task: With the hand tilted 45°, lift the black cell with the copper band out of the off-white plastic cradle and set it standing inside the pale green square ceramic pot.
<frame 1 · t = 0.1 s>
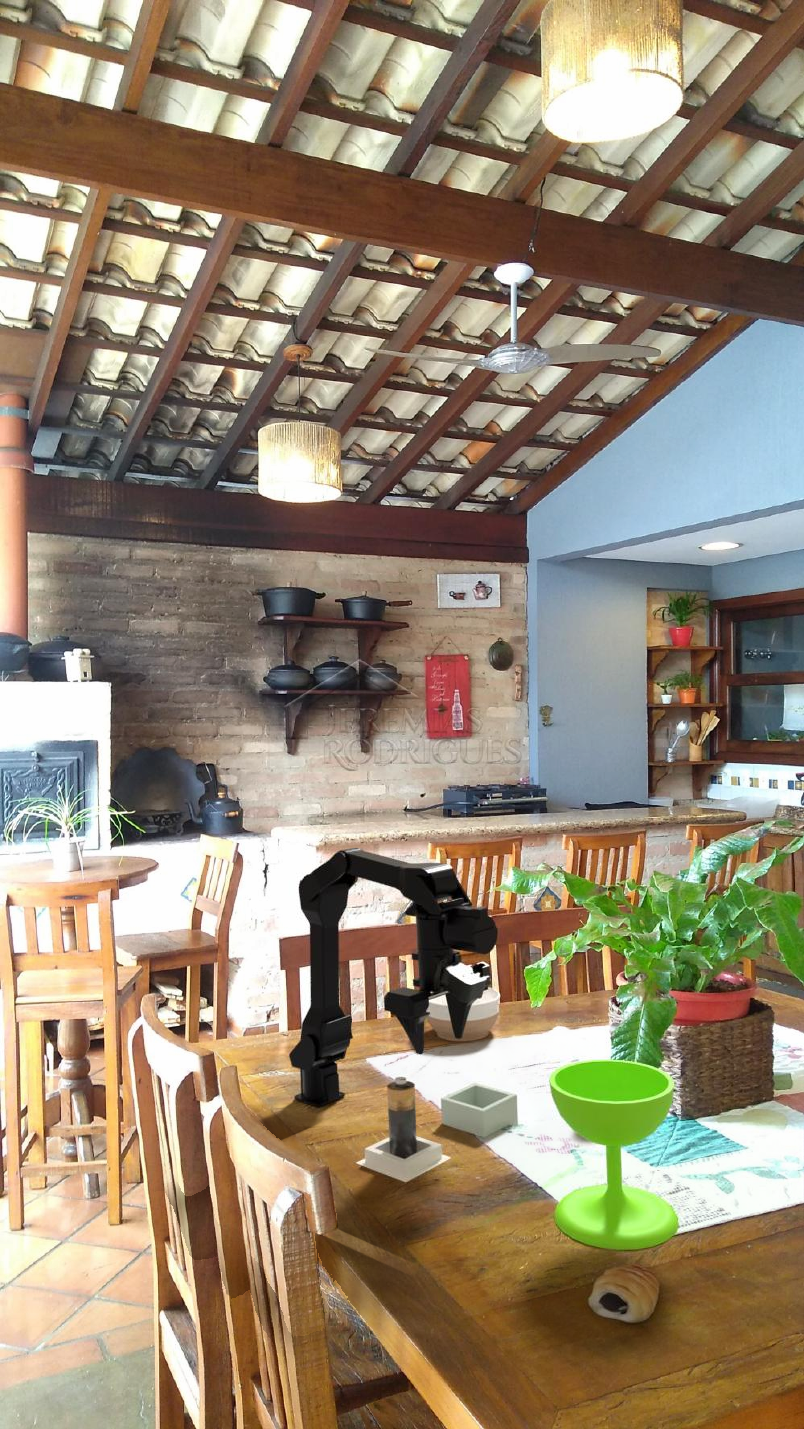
hand: (439, 1046, 162), 15 cm above the table, tool pointing down, fingers open, 9 cm apart
wineglass: (615, 1219, 136), on the table
cell: (403, 1160, 153), point 1 cm above the table, touching cradle
pastry: (626, 1306, 116), on the table
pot: (480, 1127, 166), on the table
bowl: (462, 1034, 215), on the table
cradle: (403, 1167, 153), on the table
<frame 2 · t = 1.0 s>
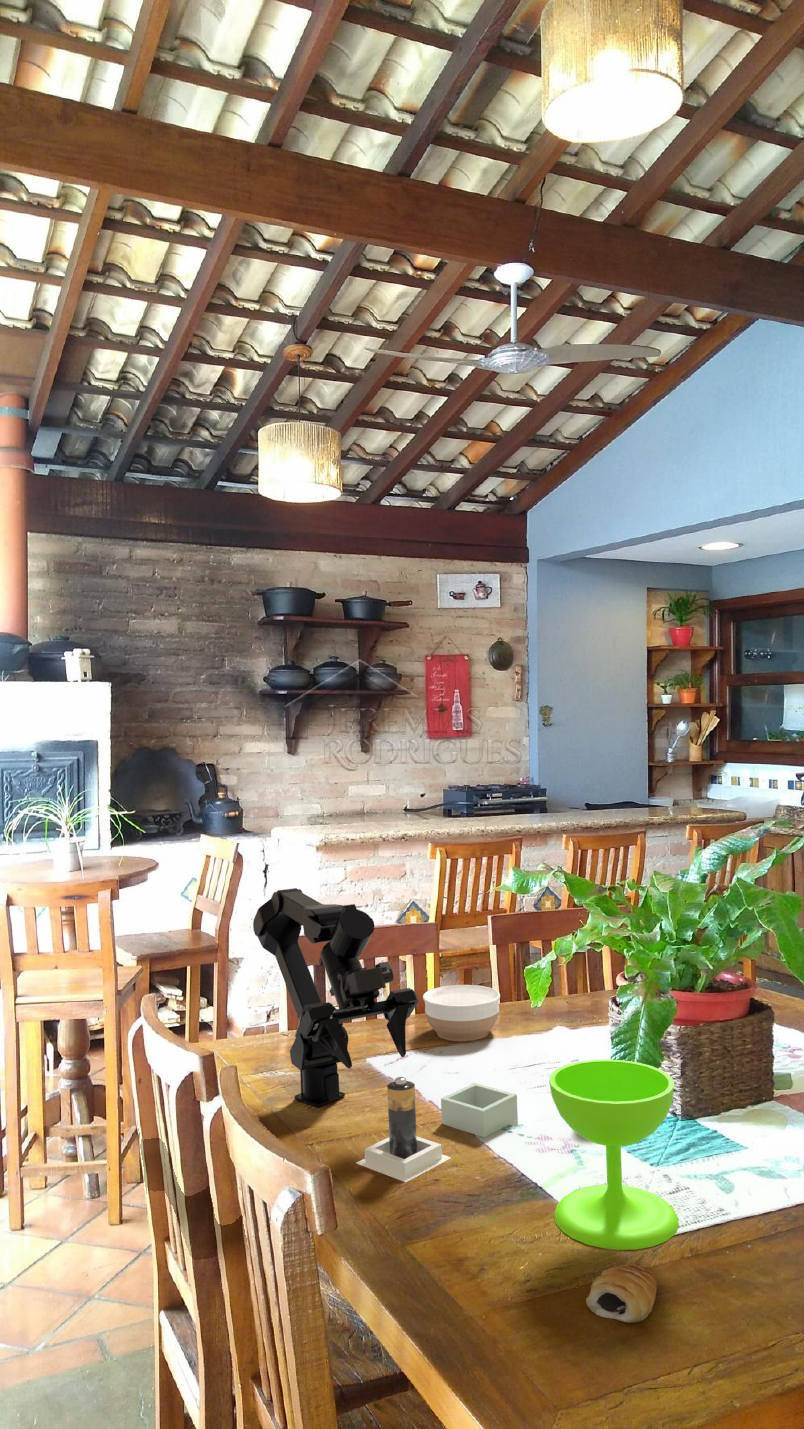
hand: (377, 1061, 160), 13 cm above the table, tool tilted 45°, fingers open, 9 cm apart
nothing on the table moved.
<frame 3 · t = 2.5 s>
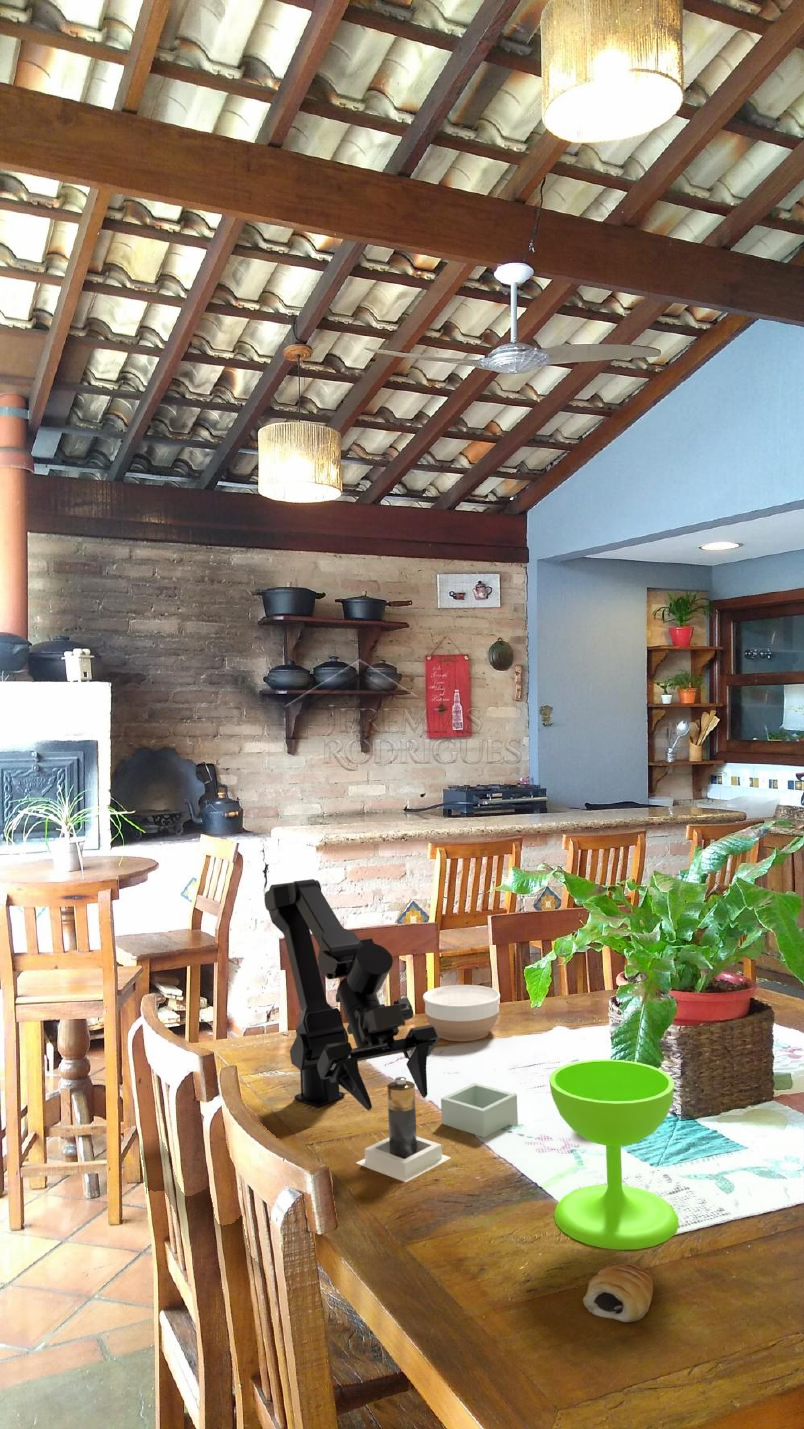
hand: (398, 1102, 154), 9 cm above the table, tool tilted 45°, fingers open, 9 cm apart
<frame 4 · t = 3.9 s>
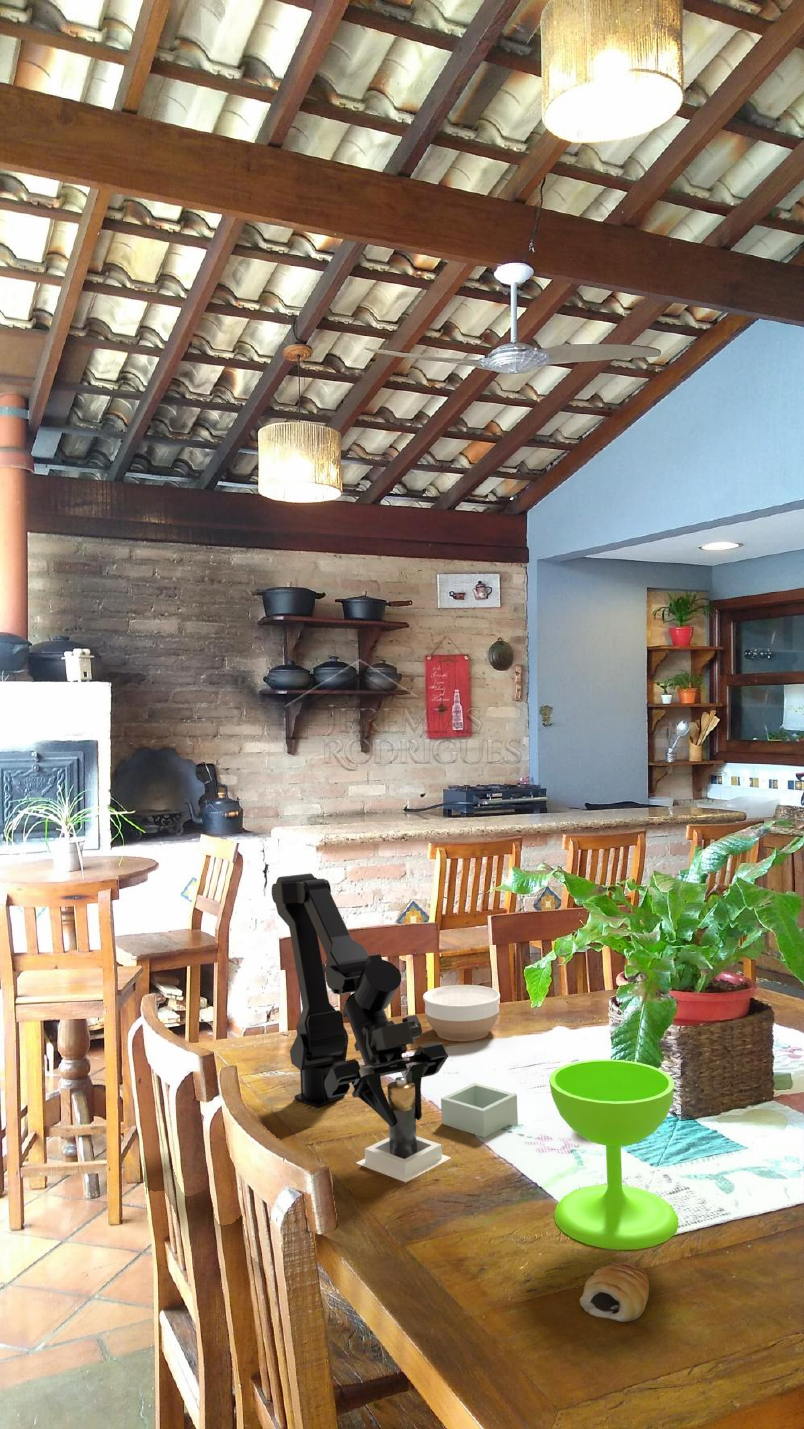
hand: (406, 1122, 152), 7 cm above the table, tool tilted 45°, fingers closed on cell, 4 cm apart
cell: (403, 1160, 153), point 1 cm above the table, touching cradle, gripper
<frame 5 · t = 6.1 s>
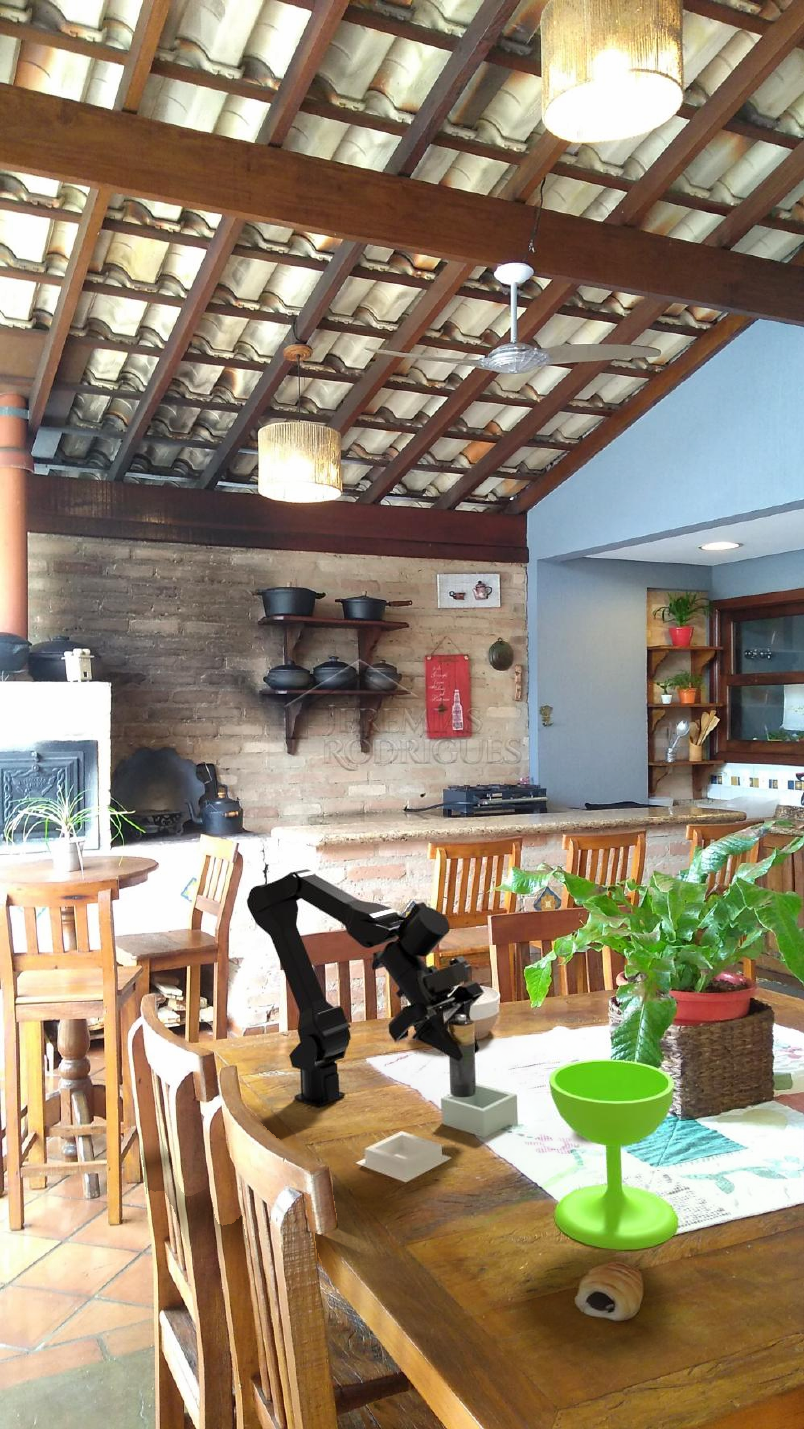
hand: (469, 1055, 161), 13 cm above the table, tool tilted 45°, fingers closed on cell, 4 cm apart
cell: (463, 1092, 162), point 7 cm above the table, touching gripper
when the fingers open (8 cm above the table, at t = 8.1 s): cell drops 1 cm, resting on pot.
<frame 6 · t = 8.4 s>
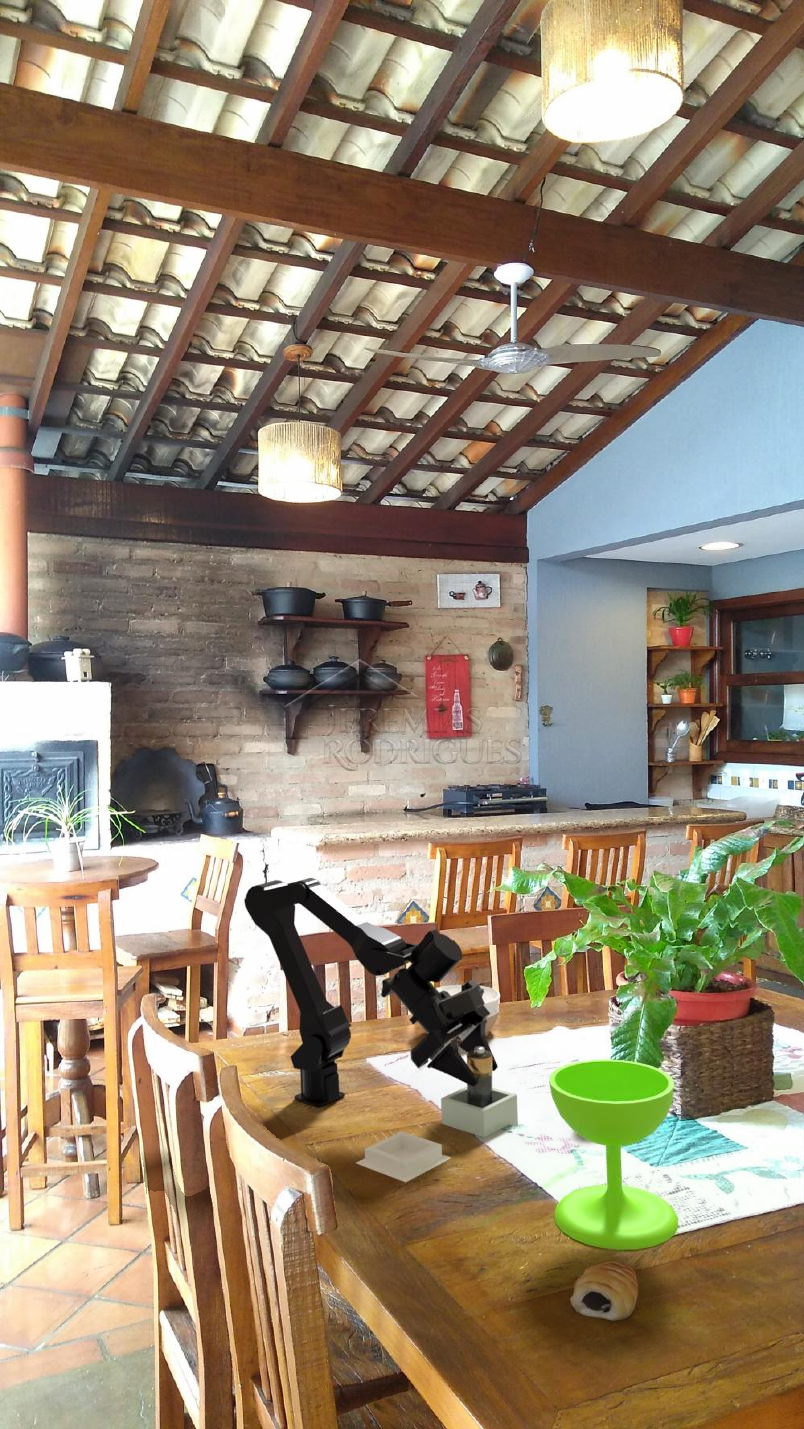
hand: (486, 1076, 165), 8 cm above the table, tool tilted 45°, fingers open, 7 cm apart
cell: (479, 1122, 166), point 1 cm above the table, touching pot
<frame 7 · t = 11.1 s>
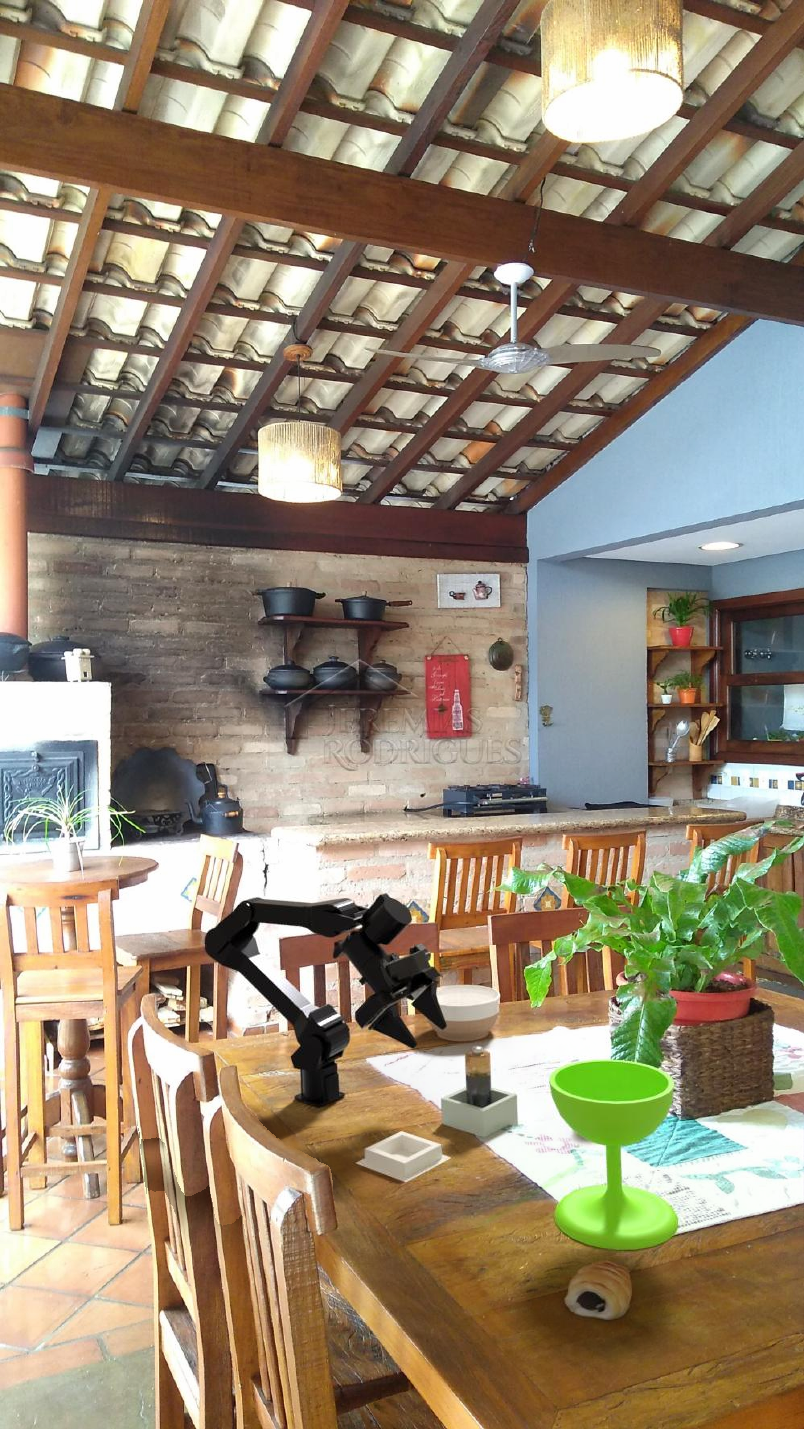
hand: (430, 1037, 170), 13 cm above the table, tool tilted 45°, fingers open, 9 cm apart
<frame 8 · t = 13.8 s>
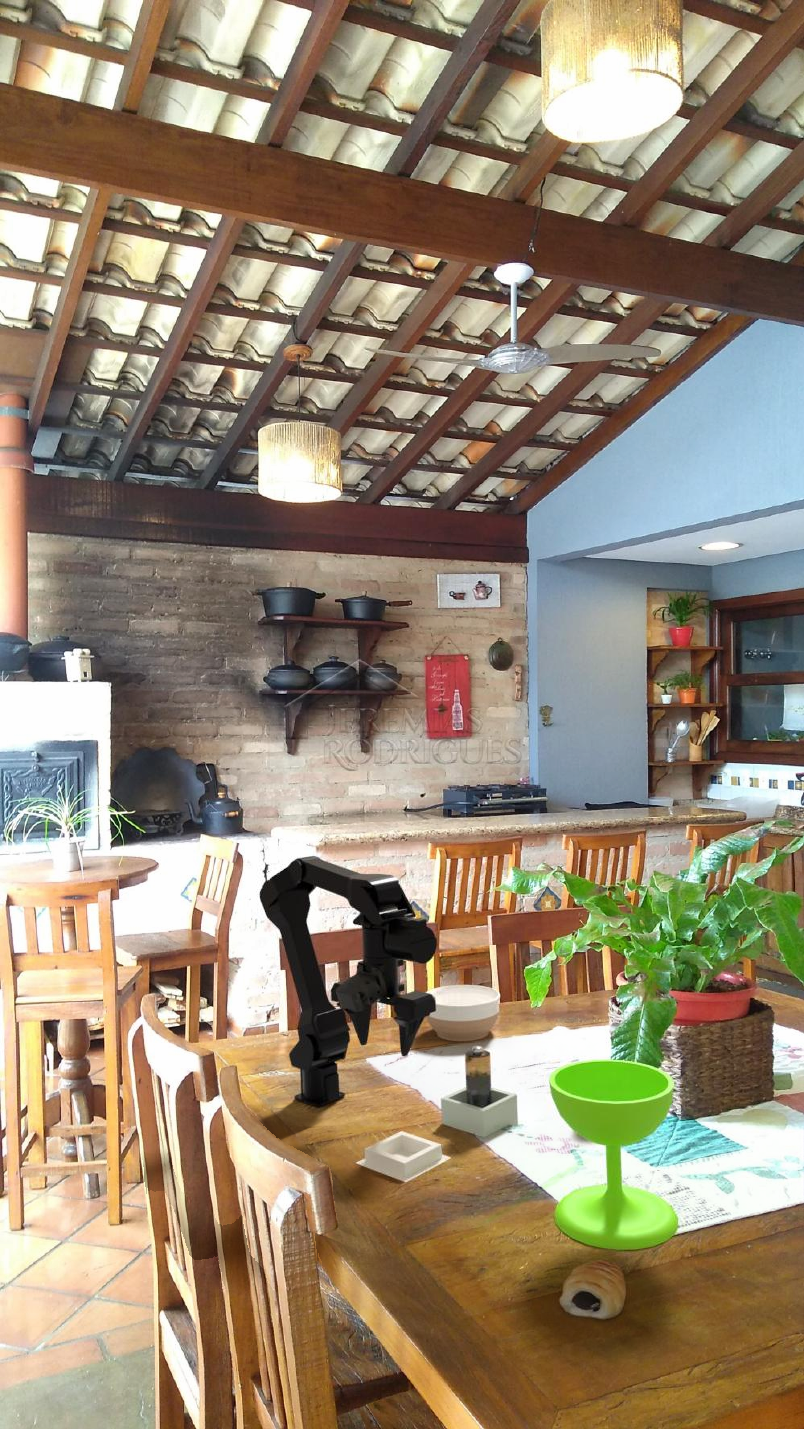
hand: (383, 1050, 169), 12 cm above the table, tool pointing down, fingers open, 9 cm apart
at the end: cell 0.0 cm off-centre on the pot, point 0.8 cm above the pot's base; cell tilted 0°; the gripper is holding nothing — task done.
